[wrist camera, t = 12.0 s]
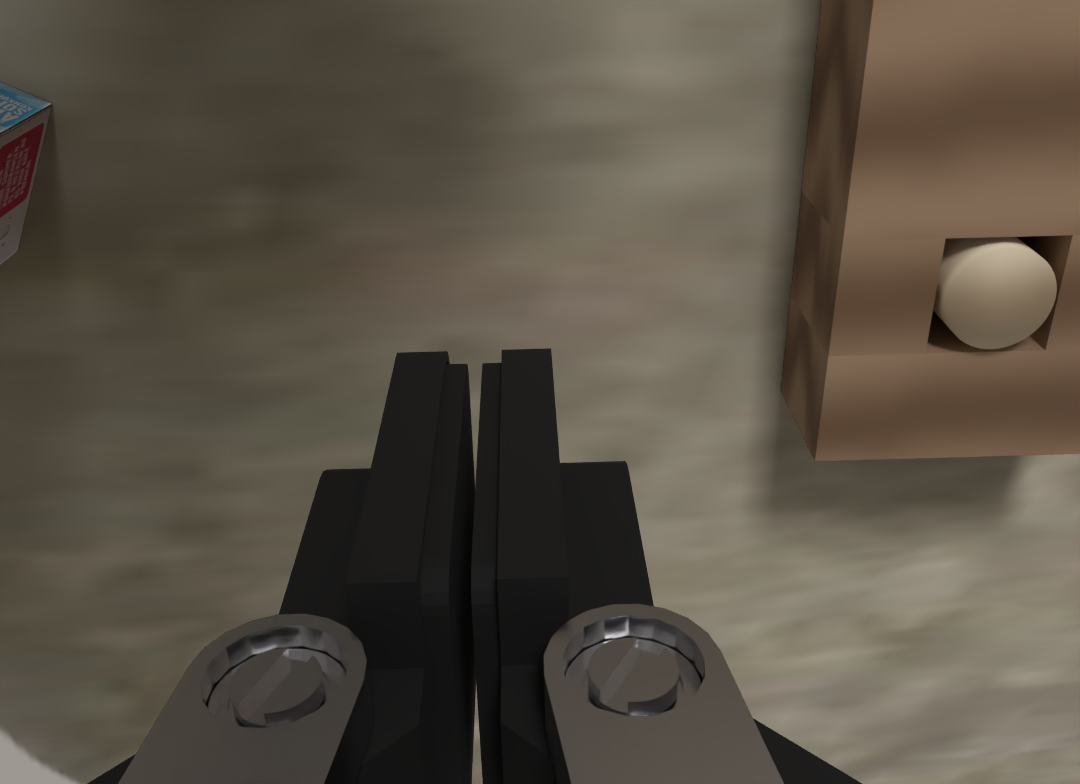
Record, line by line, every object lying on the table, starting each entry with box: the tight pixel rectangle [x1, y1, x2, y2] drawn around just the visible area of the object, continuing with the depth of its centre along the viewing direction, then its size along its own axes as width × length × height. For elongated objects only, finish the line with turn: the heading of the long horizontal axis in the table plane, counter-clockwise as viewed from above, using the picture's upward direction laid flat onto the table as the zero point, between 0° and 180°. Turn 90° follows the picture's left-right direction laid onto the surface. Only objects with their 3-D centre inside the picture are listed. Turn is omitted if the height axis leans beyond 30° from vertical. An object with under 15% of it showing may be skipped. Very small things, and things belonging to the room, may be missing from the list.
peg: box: [933, 237, 1057, 349], centre depth 40 cm, size 4×4×6 cm
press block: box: [781, 0, 1080, 461], centre depth 37 cm, size 28×12×6 cm, turn 1°
